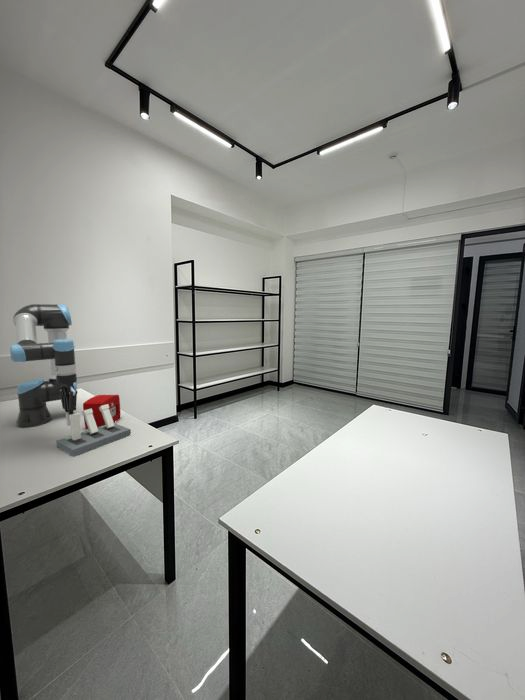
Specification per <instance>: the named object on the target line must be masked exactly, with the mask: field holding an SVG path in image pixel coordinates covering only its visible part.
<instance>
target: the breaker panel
mask: <svg viewBox="0 0 525 700" xmlns="http://www.w3.org/2000/svg"><path fill="white" fill-rule="evenodd" d="M114 425H115V426H114V427H111V428H108V429H107V426H106V425H103V426H100V427H97V428H98V432H96V433H93V434H90V432H89V429H87V430H85V431H83V432H82V431H81V438H80V439H77V440H72V435H69V436H67V437H64V438H61V439H60V438H59V439H57V440H56V442H55V444H56V448H58V449H60V450H61V449H62V451H64V452H65V453H67V454H68V453H69V455H70V456H72V457H77V456H80V455H82V454H84V452H85V453H87V452H90V451H93V450H96V449H98V448H100V446H101V447H103V446H105V445H108V444H111V443H114V442H117V441H120V440H121V438H122V439H124V438H127V437H129V436H128V435H130V434H131V435H132V432H131V428H129V427H126V426H123V425H120V424H118V423H116V422H114ZM131 435H130V436H131ZM126 436H127V437H126ZM123 437H124V438H123ZM113 441H114V442H113ZM76 455H77V456H76Z"/></svg>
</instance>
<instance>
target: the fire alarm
mask: <svg viewBox="0 0 525 700" xmlns="http://www.w3.org/2000/svg"><path fill="white" fill-rule="evenodd" d="M106 404H108V405H109V411H110V414H111V416H112V419H113V422H114V423H116V422H117V421H119V420H120V419H121V401H120V395H119V394H99V395H94V396H92V397H91V398H89V399H87V400H86V401H85V402H83V403H82V407H83V409H82V411H84V410H87V409H91V408H92V411H93V413H92V414H93V417H94V420H95V422H96V425H97V427H100V426H103V425H106V424H105V421H104V418H103V415H102V412H101V411H100V409H99V407H100V406H102V405H106ZM119 418H120V419H119ZM118 419H119V420H118ZM83 420H84V426H85V427H84V428H85V429H86V430H89V429H88V426H87V423H86V420H85V417H84V416H83ZM116 420H117V421H116ZM115 421H116V422H115Z"/></svg>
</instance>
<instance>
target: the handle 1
mask: <svg viewBox="0 0 525 700" xmlns="http://www.w3.org/2000/svg"><path fill="white" fill-rule="evenodd" d="M92 413H93V411H92V408H91V409H87V410H84V411H83V410H82V411H81V415H82V416H83V418H84V417H85V420H86V423H87V426H88V429H87V430H89V432H90V434H93V433H96V432H98V428H97V425H96V422H95V420H94V417H93V414H92Z"/></svg>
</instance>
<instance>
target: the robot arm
mask: <svg viewBox="0 0 525 700" xmlns="http://www.w3.org/2000/svg"><path fill="white" fill-rule="evenodd" d="M12 318H13V320H12V321H13V325H14V326H15V334H16V336H15V337H16V339H15V341H16V342H15V343H16V344H12V345H10V346H9V351H10V352H9V353H10V359H11V362H14V363H18V362H19V363H21V362H22V363H25V362H33V361H45V360H46V361H48V360H49V361H50V362H49V363H50V371H51V374H50V375H49V376H48V380H45V379H43V378H35V379H32V380H31V379H30V380H27V381H24V382H20V383H19V384H18V385H17V393H16V394H17V396H18V407H19V408H18V409H19V412H18V415H17V419H16V427H18V426H21V427H20V428H30V427H31V428H32V427H38V426H41V425H44V424H47V423H49V422H50V421H52V414H51V412H50V410H49V409H48V405H47V403H48V402H55V401H60V402H61V405H62V409H63V410H64V412H65V421H66V422H65V423H66V426H67V427H71V422H70V419H69V415H70V414H74V413H75V411H76V410H77V400H78V399H77V398H78V390H77V389H78V388H77V386H78V385H77V381H78V379H77V365H76V360H75V359H76V356H75V345H74V344H75V343H74V340H73V339H70V338H68V337H67V332H68V330H69V329H70V326H72V325H73V322H72V317H71V313H70V310H69V308H68V306H67V305H65V304H59V303H58V304H45V303H44V304H43V303H42V304H37V303H36V304H34V303H33V304H28V305H25V306H23V307H21V308H19V309H18V310H17V311H16V312H15V313H14V315H13V317H12ZM37 327H43V330H44V331H45V332H46V333H47V340H48V342H44V343H43V342H42V343H41V342H39V343H38V338H37V337H38V336H37Z"/></svg>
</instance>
